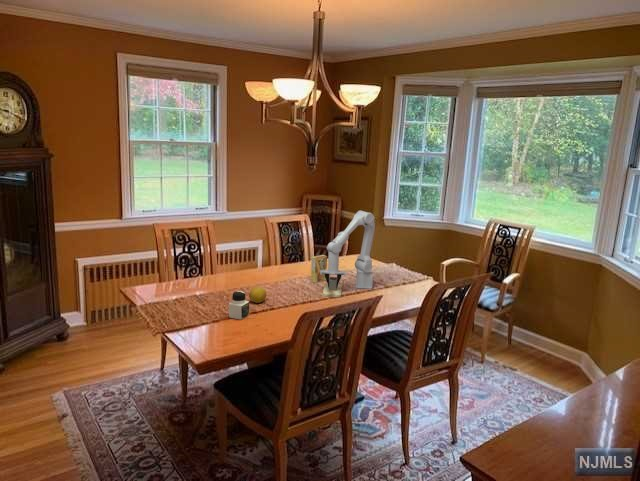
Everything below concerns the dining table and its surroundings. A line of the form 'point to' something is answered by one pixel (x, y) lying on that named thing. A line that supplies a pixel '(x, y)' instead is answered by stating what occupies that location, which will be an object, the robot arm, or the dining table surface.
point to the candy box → (318, 268)
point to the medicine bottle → (238, 306)
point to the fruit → (257, 294)
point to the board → (332, 293)
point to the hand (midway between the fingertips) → (332, 287)
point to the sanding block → (332, 283)
